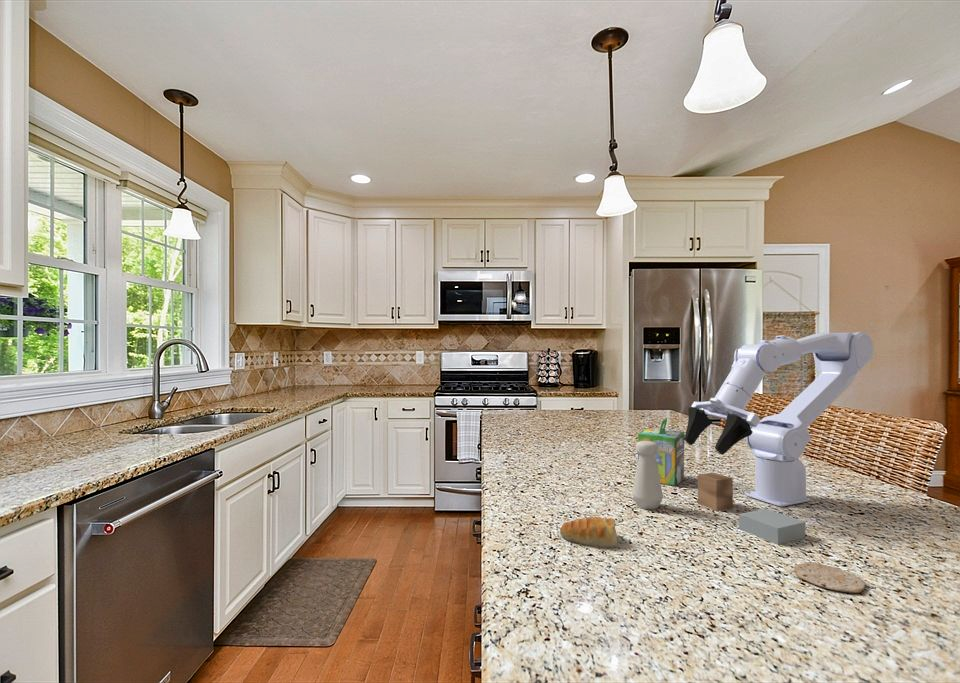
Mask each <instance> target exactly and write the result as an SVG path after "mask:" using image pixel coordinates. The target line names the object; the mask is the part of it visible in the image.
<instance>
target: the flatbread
mask: <svg viewBox="0 0 960 683" xmlns="http://www.w3.org/2000/svg"><path fill="white" fill-rule="evenodd" d="M793 570H794V573H795V575H796V576H797V577H798V578H799V579H801V580H803V581H804V582H808V583H810V584H813V585H814V586H818V587H820V588H824V589H827V590H831V591H836V592H843V593H853V594H860V593H862V591H863V590H865V587H866V582H865V581H864V580H863V579H862V578H861V577H858V575H854V574H853V573H851V572H848V571H846V570H843V569H840V568H836V567H834V566H833V565H832V566H831V565H827V564H822V563H817V562H811V561H810V562H809V561H808V562H804V563H799V564H796V565H795V566H794V567H793Z"/></svg>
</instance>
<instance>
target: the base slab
mask: <svg viewBox="0 0 960 683" xmlns="http://www.w3.org/2000/svg"><path fill="white" fill-rule="evenodd" d="M739 529H740V530H739ZM738 530H739V531H742V532H744V531H745V532H744V533H747V534H749V533H750V535H752V534H753V535H752V536H754V535H755V537H757V538H759V539H763V540H765V541H767V542H770V543H773V544H774V545H782V544H786V543H790V542H794V541H795V542H796V541H798V540H803V539H806V521H803V520H800V519H797V518H794V517H792V516H789V515H787V514H786V515H785V514H783V513H780V512H776V511H774V510H771V509H767V508H763V509H757V510H753V511H748V512H742V513H739V514H738Z"/></svg>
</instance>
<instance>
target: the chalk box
mask: <svg viewBox="0 0 960 683" xmlns="http://www.w3.org/2000/svg"><path fill="white" fill-rule="evenodd" d="M667 422H668V418H667V417H666V418H664V419H662V421H661V424H660V429H659V428H652V427H647V428H645V429H644V430H642V431H641V432H639V433H637V443H638V442H639V441H651V442H655V443H656V444H657V445H658V454H656V455H655V457H656V462H657V467H658V473H659V478H660V483H661V485H666V486H671V485H672V486H673V487H677V486H678V485H679V484H680V483H681V482H682V480H683V479H685V440H684V437H685V434H686V432H684V431H677V430H669V429H666V426H667ZM638 460H639V453H637V461H638Z"/></svg>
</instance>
